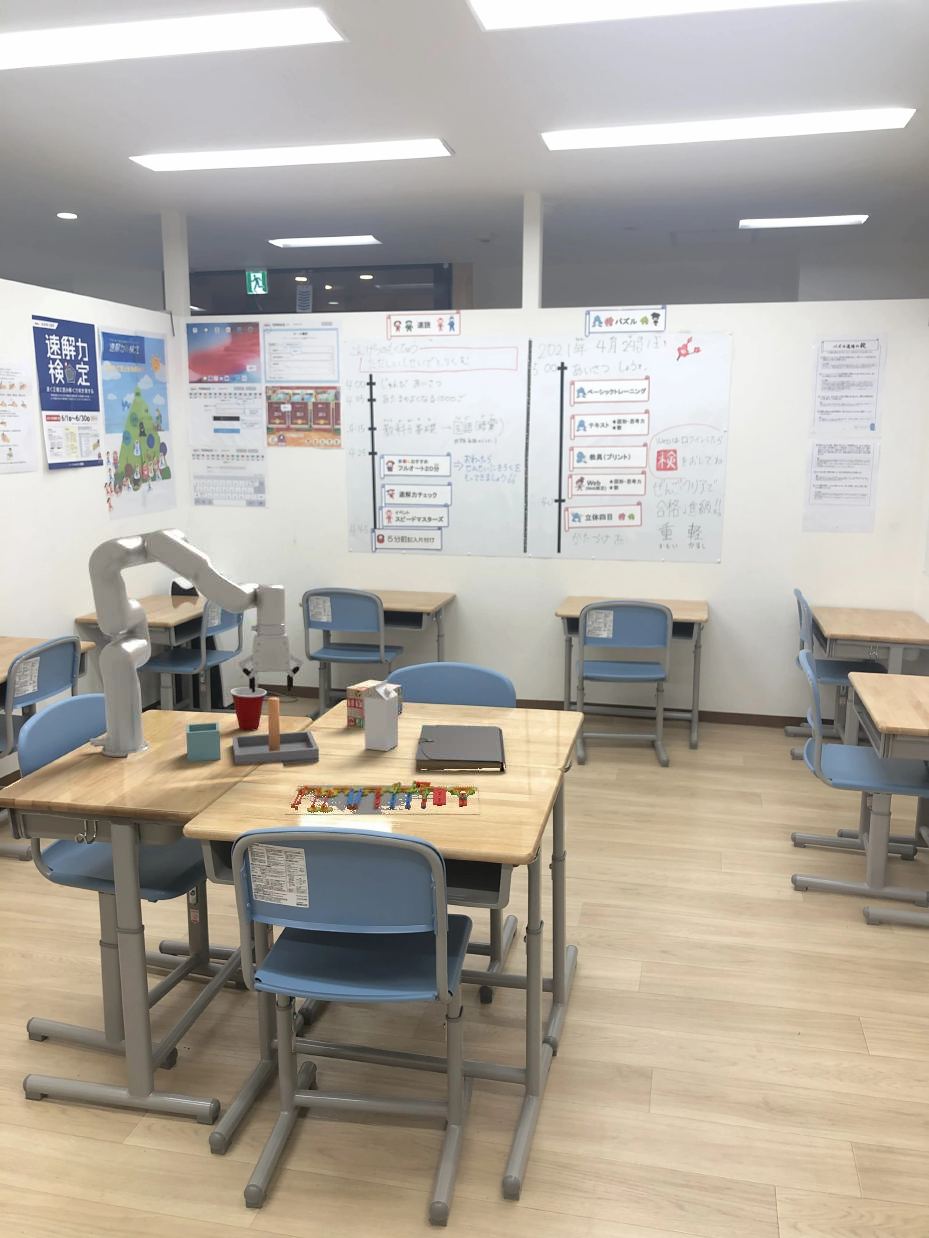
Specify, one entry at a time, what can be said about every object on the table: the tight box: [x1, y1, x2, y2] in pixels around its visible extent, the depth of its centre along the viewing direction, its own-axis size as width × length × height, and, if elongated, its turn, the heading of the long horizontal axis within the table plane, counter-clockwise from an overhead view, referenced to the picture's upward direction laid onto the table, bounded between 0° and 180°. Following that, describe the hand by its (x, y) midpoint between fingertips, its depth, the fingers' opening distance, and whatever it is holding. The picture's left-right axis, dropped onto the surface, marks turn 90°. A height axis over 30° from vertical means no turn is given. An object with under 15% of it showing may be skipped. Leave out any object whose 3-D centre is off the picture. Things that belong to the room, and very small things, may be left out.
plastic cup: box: [230, 686, 267, 731], centre depth 281 cm, size 11×11×12 cm
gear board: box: [291, 780, 479, 814], centre depth 222 cm, size 45×2×19 cm
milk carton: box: [364, 679, 399, 752], centre depth 262 cm, size 7×7×19 cm
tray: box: [231, 730, 320, 766], centre depth 256 cm, size 22×18×4 cm
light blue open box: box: [185, 721, 222, 763], centre depth 251 cm, size 9×9×9 cm
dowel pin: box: [267, 697, 281, 751], centre depth 255 cm, size 3×3×15 cm
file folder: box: [415, 724, 507, 771], centre depth 259 cm, size 33×4×24 cm
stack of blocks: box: [346, 679, 403, 729], centre depth 293 cm, size 21×6×12 cm, turn 149°
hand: (271, 690), depth 253 cm, fingers open, 9 cm apart
